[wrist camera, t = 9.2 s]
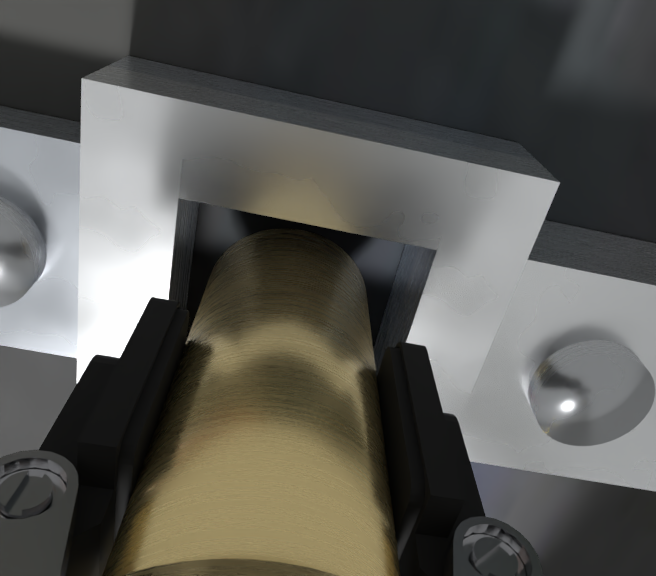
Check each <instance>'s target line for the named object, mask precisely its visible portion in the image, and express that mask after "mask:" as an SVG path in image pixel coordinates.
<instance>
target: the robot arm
mask: <svg viewBox="0 0 656 576" xmlns="http://www.w3.org/2000/svg"><path fill="white" fill-rule="evenodd" d="M188 320H189V311H188V310H182V309H180V302H178V301H173V300H167V299H162V298H156V297H151V298H150V300H149V302H148V304H147V306H146V308H145V310H144V312H143V314H142V316H141V317H140V319H139V321H138V323H137V325H136V327H135V329H134V331H133V333H132V335H131V337H130V339H129V341H128V343H127V345H126V347H125V349H124V351H123V353H122V355H121V357H120V358H116V357H110V356H105V355H99V354H97V355H95V356H94V357H93V358H92V359H91V361H90V362H89V364H88V366H87V368H86V369H85V371H84V373H83V374H82V376H81V378H80V380H79V381H78V383H77V385H76V387H75V388H74V390H73V392H72V393H71V395H70V397H69V399H68V400H67V402H66V404H65V406H64V407H63V409H62V411H61V412H60V414H59V416H58V418H57V419H56V421H55V423H54V425H53V426H52V428H51V430H50V431H49V433H48V435H47V437H46V438H45V440H44V442H43V444H42V445H41V447H40V449H39V450H29V451H20V452H16V453H13V454H10V455H6V456H3V457H1V458H0V576H102V575H103V572H104V569H105V566H106V564H107V561H108V558H109V555H110V552H111V550H112V547H113V544H114V541H115V539H116V536H117V533H118V530H119V527H120V525H121V522H122V519H123V516H124V514H125V511H126V508H127V506H128V503H129V500H130V498H131V495H132V493H133V490H134V487H135V484H136V482H137V479H138V476H139V473H140V470H141V468H142V465H143V462H144V459H145V456H146V454H147V451H148V448H149V445H150V442H151V440H152V437H153V434H154V431H155V429H156V426H157V423H158V420H159V417H160V415H161V412H162V409H163V406H164V403H165V401H166V398H167V395H168V392H169V389H170V387H171V384H172V381H173V378H174V376H175V373H176V370H177V367H178V364H179V362H180V359H181V356H182V353H183V350H184V348H185V345H186V337H187V329H188ZM377 385H378V393H379V402H380V410H381V418H382V426H383V435H384V443H385V451H386V460H387V468H388V476H389V484H390V493H391V501H392V509H393V518H394V526H395V534H396V542H397V551H398V559H399V567H400V576H543V572H542V567H541V563H540V560H539V557H538V555H537V553H536V552H535V550H534V548H533V547H532V545H531V544H530V542H529V541H528V540H527V539H526V538H525V537H524V536H523V535H522V534H521V533H520V532H518V531H517V530H515V529H514V528H513V527H511V526H510V525H508V524H506V523H504V522H502V521H499V520H497V519H494V518H489V517H485V513H484V509H483V506H482V502H481V499H480V495H479V492H478V488H477V485H476V481H475V478H474V474H473V471H472V467H471V464H470V460H469V457H468V453H467V450H466V446H465V443H464V439H463V436H462V432H461V429H460V425H459V422H458V420H457V417H456V416H455V415H454V414H449V413H443V410H442V406H441V402H440V399H439V395H438V391H437V387H436V383H435V379H434V375H433V371H432V367H431V363H430V360H429V356H428V352H427V349H426V347H425V346H422V345H417V344H411V343H406V342H400V341H399V342H398V343H397V344H396V346H395V347H389V346H388V347H387V348H386V350H385V353H384V356H383V359H382V362H381V365H380V369H379V372H378V375H377Z"/></svg>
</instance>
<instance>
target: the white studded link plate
mask: <svg viewBox="0 0 656 576" xmlns="http://www.w3.org/2000/svg"><path fill="white" fill-rule="evenodd" d="M559 184H560V182H559V181H558V180H557V179H556V178H555V177H554V176H553V175H552V174H551V173H550V172H549V171H548V170H547V169H546V168H545V167H543V166H542V165H541V164H540V163H539V162H538V161H537V160H536V159H535V158H534V157H533V156H532V155H531V154H530V153H529V152H528V151H527V150H526V149H525V148H524V147H523V146H521V145H520V144H519V143H517V142H513V141H508V140H504V139H499V138H495V137H490V136H486V135H481V134H477V133H472V132H468V131H463V130H459V129H455V128H450V127H446V126H441V125H437V124H432V123H428V122H423V121H419V120H414V119H410V118H405V117H401V116H396V115H392V114H387V113H383V112H378V111H374V110H369V109H365V108H361V107H356V106H352V105H347V104H343V103H338V102H334V101H329V100H325V99H320V98H316V97H311V96H307V95H302V94H298V93H293V92H289V91H284V90H280V89H276V88H271V87H267V86H262V85H258V84H253V83H249V82H244V81H240V80H235V79H231V78H226V77H222V76H217V75H213V74H208V73H204V72H199V71H195V70H191V69H186V68H182V67H177V66H173V65H168V64H164V63H159V62H155V61H150V60H146V59H141V58H137V57H132V56H127V57H124V58H122V59H120V60H118V61H116V62H114V63H112V64H110V65H108V66H106V67H104V68H102V69H99V70H97V71H95V72H93V73H91V74H89V75H87V76H85V77H83V78H81V122H76V121H72V120H67V119H62V118H57V117H53V116H48V115H43V114H38V113H34V112H29V111H24V110H19V109H15V108H10V107H5V106H0V345H3V346H9V347H15V348H20V349H26V350H32V351H38V352H44V353H50V354H56V355H62V356H68V357H73V358H77V383H78V381H79V380H80V378H81V376H82V374H83V373H84V371H85V369H86V368H87V366H88V364H89V362H90V361H91V359H92V358H93V357H94V356H95V355H97V354H99V355H105V356H110V357H116V358H120V357H121V355H122V353H123V351H124V349H125V347H126V345H127V343H128V341H129V339H130V337H131V335H132V333H133V331H134V329H135V327H136V325H137V323H138V321H139V319H140V317H141V316H142V314H143V312H144V310H145V308H146V306H147V304H148V302H149V300H150V298H151V297H156V298H162V299H167V300H173V301H178V302H180V309H182V310H186V309H187V301H188V292H189V284H190V275H191V267H192V258H193V250H194V242H195V233H196V225H197V216H198V208H199V202H200V203H205V204H210V205H214V206H219V207H224V208H229V209H234V210H239V211H244V212H249V213H254V214H259V215H264V216H269V217H274V218H279V219H284V220H289V221H294V222H299V223H304V224H309V225H314V226H319V227H324V228H329V229H334V230H339V231H344V232H349V233H354V234H359V235H364V236H369V237H374V238H379V239H384V240H389V241H394V242H399V243H404V244H405V247H404V250H403V253H402V256H401V260H400V263H399V266H398V269H397V273H396V276H395V279H394V282H393V286H392V289H391V292H390V295H389V299H388V302H387V305H386V308H385V312H384V315H383V318H382V321H381V325H380V328H379V331H378V334H377V338H376V341H375V344H374V347H373V352H374V360H375V368H376V377H377V375H378V372H379V369H380V365H381V362H382V359H383V356H384V353H385V350H386V348H387V347H388V346H389V347H395V346H396V344H397V343H398V342H399V341H400V342H406V343H411V344H417V345H422V346H425V347H426V349H427V352H428V356H429V360H430V363H431V367H432V371H433V375H434V379H435V383H436V387H437V391H438V395H439V399H440V402H441V406H442V410H443V413H449V414H454V415H455V416H456V417H457V420H458V422H459V425H460V429H461V432H462V436H463V439H464V443H465V446H466V450H467V453H468V457H469V460H470V461H472V462H478V463H484V464H490V465H496V466H502V467H509V468H515V469H521V470H527V471H533V472H539V473H545V474H552V475H558V476H564V477H570V478H576V479H582V480H588V481H594V482H601V483H607V484H613V485H619V486H625V487H631V488H637V489H643V490H650V491H656V243H652V242H647V241H643V240H638V239H633V238H628V237H623V236H619V235H614V234H609V233H604V232H600V231H595V230H590V229H585V228H581V227H576V226H571V225H566V224H562V223H557V222H552V221H547V220H544V219H545V217H546V215H547V212H548V210H549V208H550V205H551V203H552V200H553V198H554V196H555V193H556V191H557V189H558V186H559ZM186 341H187V338H186Z"/></svg>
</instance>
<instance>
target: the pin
mask: <svg viewBox="0 0 656 576" xmlns="http://www.w3.org/2000/svg"><path fill="white" fill-rule="evenodd" d="M102 576H400V567H399V559H398V551H397V542H396V534H395V526H394V518H393V509H392V501H391V493H390V484H389V476H388V468H387V460H386V451H385V443H384V435H383V426H382V418H381V410H380V402H379V393H378V385H377V377H376V368H375V360H374V352H373V343H372V335H371V327H370V319H369V310H368V302H367V294H366V287H365V283H364V280H363V277H362V275H361V272H360V270H359V269H358V267H357V265H356V264H355V262H354V261H353V260H352V259H351V257H350V256H349V255H348V254H347V253H346V252H345V251H344V250H343V249H342V248H340V247H339V246H338V245H336V244H335V243H334V242H332V241H330V240H328V239H327V238H325V237H323V236H320V235H318V234H315V233H312V232H309V231H305V230H300V229H292V228H277V229H268V230H264V231H260V232H257V233H254V234H251V235H248V236H246V237H245V238H243V239H241V240H239V241H238V242H236V243H235V244H233V245H232V246H231V247H229V248H228V249H227V250H226V251H225V252H224V253H223V254H222V256H221V257H220V258H219V259H218V261H217V262H216V264H215V266H214V268H213V269H212V272H211V275H210V277H209V280H208V283H207V286H206V288H205V291H204V294H203V297H202V299H201V302H200V305H199V308H198V311H197V313H196V316H195V319H194V322H193V324H192V327H191V330H190V333H189V336H188V338H187V341H186V345H185V348H184V350H183V353H182V356H181V359H180V362H179V364H178V367H177V370H176V373H175V376H174V378H173V381H172V384H171V387H170V389H169V392H168V395H167V398H166V401H165V403H164V406H163V409H162V412H161V415H160V417H159V420H158V423H157V426H156V429H155V431H154V434H153V437H152V440H151V442H150V445H149V448H148V451H147V454H146V456H145V459H144V462H143V465H142V468H141V470H140V473H139V476H138V479H137V482H136V484H135V487H134V490H133V493H132V495H131V498H130V500H129V503H128V506H127V508H126V511H125V514H124V516H123V519H122V522H121V525H120V527H119V530H118V533H117V536H116V539H115V541H114V544H113V547H112V550H111V552H110V555H109V558H108V561H107V564H106V566H105V569H104V572H103V575H102Z"/></svg>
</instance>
